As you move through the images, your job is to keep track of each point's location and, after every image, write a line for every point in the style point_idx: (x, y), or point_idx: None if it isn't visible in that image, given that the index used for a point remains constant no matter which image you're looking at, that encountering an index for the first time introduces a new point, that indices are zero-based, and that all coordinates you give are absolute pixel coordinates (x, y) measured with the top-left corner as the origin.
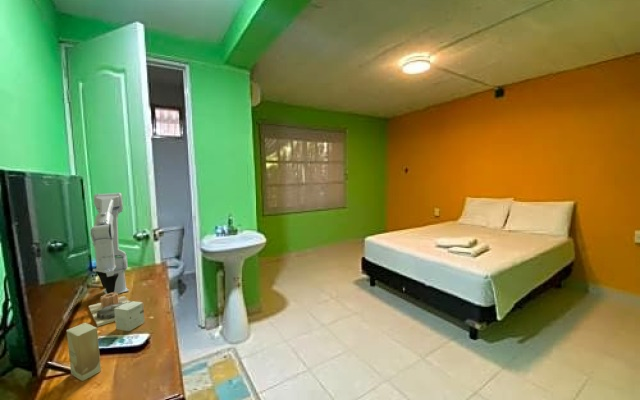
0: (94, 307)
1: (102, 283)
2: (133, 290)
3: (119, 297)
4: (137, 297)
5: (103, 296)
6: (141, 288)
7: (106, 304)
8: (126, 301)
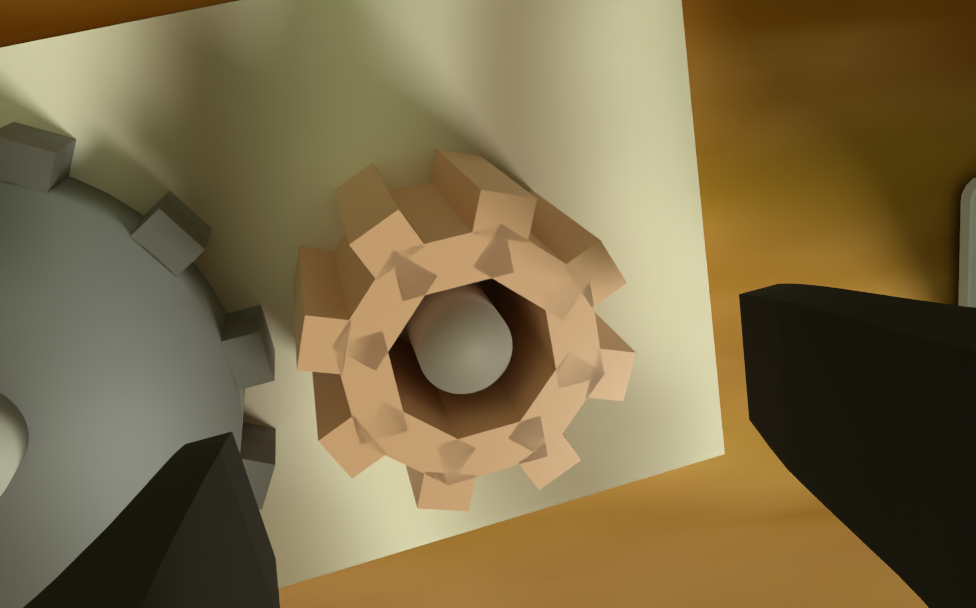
0: (508, 28)
1: (832, 325)
2: None
3: (712, 386)
4: (605, 590)
5: (480, 253)
6: None
7: (302, 269)
8: None
